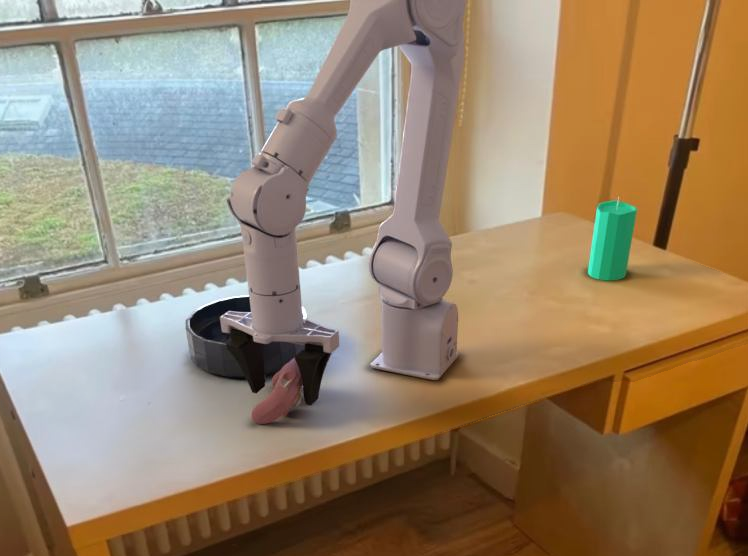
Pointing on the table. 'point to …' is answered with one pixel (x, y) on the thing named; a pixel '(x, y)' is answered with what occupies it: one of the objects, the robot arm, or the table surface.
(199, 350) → the dark round bowl
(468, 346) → the table surface
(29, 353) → the table surface
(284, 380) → the pink curved piece
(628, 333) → the table surface
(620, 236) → the candle
